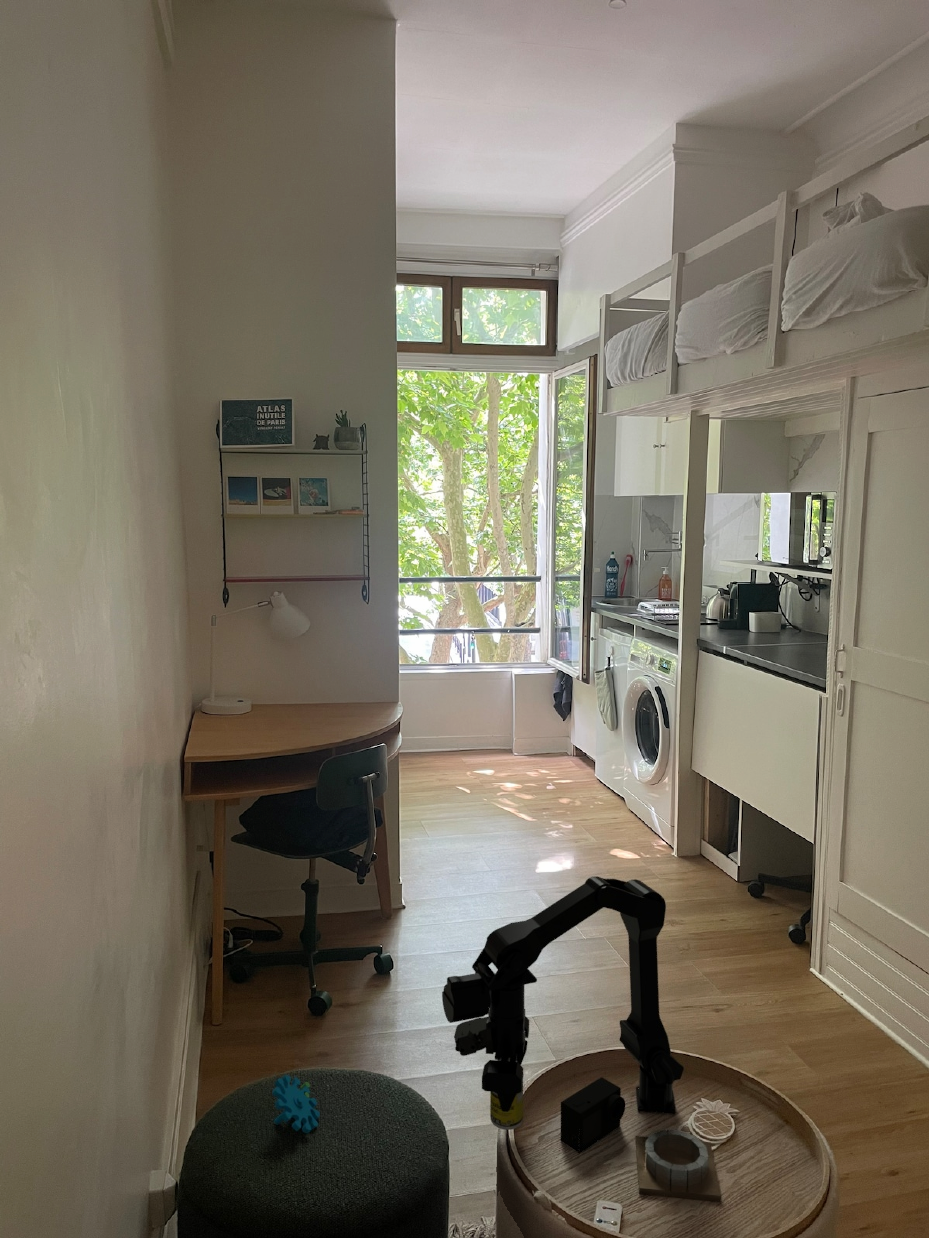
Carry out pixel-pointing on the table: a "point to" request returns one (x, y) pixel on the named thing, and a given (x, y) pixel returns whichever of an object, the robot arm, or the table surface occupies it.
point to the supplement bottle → (506, 1118)
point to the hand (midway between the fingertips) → (506, 1099)
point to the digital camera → (591, 1114)
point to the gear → (295, 1104)
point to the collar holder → (676, 1166)
